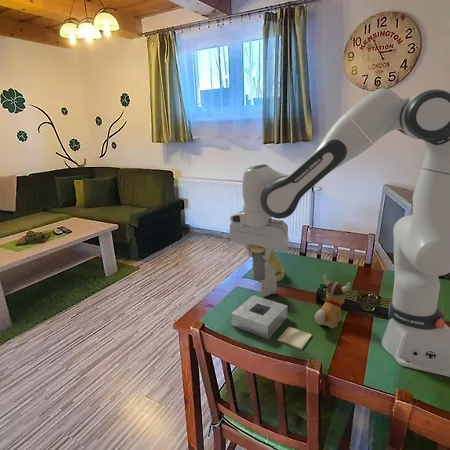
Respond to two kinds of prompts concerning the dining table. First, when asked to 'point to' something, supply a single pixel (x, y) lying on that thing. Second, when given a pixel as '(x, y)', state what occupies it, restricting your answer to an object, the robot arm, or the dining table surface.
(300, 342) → the coaster
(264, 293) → the stone tool
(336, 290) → the toy
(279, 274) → the figurine
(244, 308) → the housing
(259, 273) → the plug
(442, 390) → the dining table surface
